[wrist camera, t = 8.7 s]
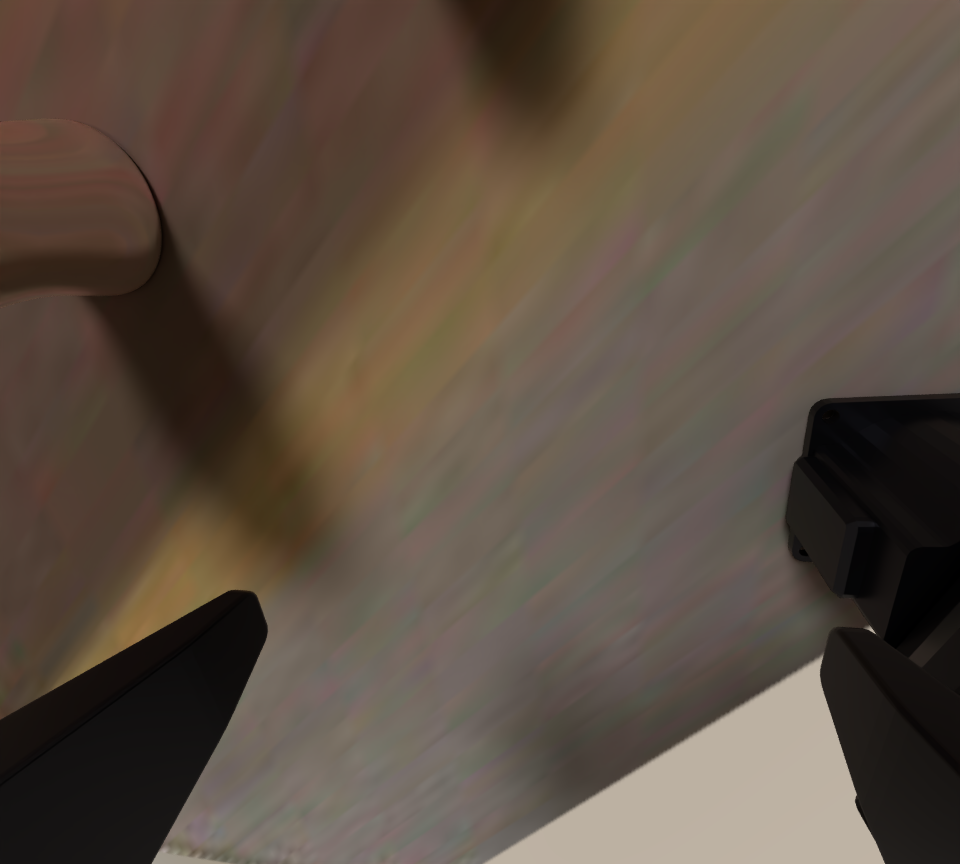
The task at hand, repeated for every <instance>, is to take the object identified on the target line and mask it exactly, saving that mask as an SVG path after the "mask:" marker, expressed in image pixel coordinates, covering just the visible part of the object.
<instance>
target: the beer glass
mask: <svg viewBox="0 0 960 864" xmlns="http://www.w3.org/2000/svg"><path fill="white" fill-rule="evenodd" d="M161 246H162V231H161V223H160V218H159V213H158V209H157V206H156V203H155V200H154V198H153V195H152V193H151V190H150V188H149V186H148V184H147V182H146V181H145V179H144V177H143V175H142V174H141V172H140V171H139V169H138V168H137V166H136V165H135V164H134V162H133V161H132V160H131V159H130V157H129V156H128V155H127V154H126V153H125V152H124V151H123V150H122V149H121V148H120V147H119V146H118V145H117V144H116V143H115V142H113V141H112V140H111V139H110V138H108V137H107V136H106V135H104V134H103V133H101V132H99V131H98V130H96V129H94V128H92V127H90V126H87V125H85V124H82V123H80V122H76V121H73V120H67V119H57V118H44V119H28V120H15V121H0V309H1V308H3V307H6V306H9V305H12V304H16V303H20V302H24V301H28V300H32V299H37V298H44V297H51V296H114V295H121V294H126V293H129V292H131V291H134V290H136V289H137V288H139V287H141V286H142V285H143V284H144V283H146V282H147V281H148V279H149V278H150V277H151V276H152V274H153V273H154V271H155V269H156V267H157V264H158V261H159V258H160V253H161Z"/></svg>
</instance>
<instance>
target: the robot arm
mask: <svg viewBox="0 0 960 864" xmlns="http://www.w3.org/2000/svg"><path fill="white" fill-rule="evenodd" d="M828 410H834V413H833V415H832V416H831V417H830V418H827V419H822V416H823V414H824V413H825V412H826V411H828ZM786 521H787V522H788V524H789V526H790V527H791V529H790V535H789V542H788V548H789V550H790V551H791V553H792V555H793V556H794V558H796V559H797V560H799V561H805V562H813V563H814V565H815V566H816V568H817V569H818V571H819V572H820V574H821V576H822V577H823V579H824V580H825V582H826V583H827V585H828V586H829V588H830V590H831V591H832V592H834V593H835V594H836V595H837V596H838V597H839V598H852V599H853V601H854V602H855V604H856V605H857V607H858V608H859V610H860V611H861V613H862V614H863V616H864V617H865V619H866V620H867V621H868V623H869V624H870V626H871V627H872V629H873V630H874V632H875V633H876V634H874V633H873V632H871V631H869V630H867V629H863V628H848V627H836V628H833V629H832V630H831V631H830V633H829V636H828V640H827V644H826V648H825V652H824V656H823V660H822V664H821V669H820V678H821V684H822V688H823V691H824V694H825V698H826V701H827V704H828V707H829V710H830V713H831V716H832V719H833V722H834V725H835V728H836V732H837V735H838V738H839V741H840V744H841V747H842V750H843V753H844V756H845V760H846V763H847V765H848V769H849V772H850V775H851V778H852V781H853V784H854V787H855V790H856V793H857V796H856V799H855V803H856V806H857V809H858V811H859V813H860V815H861V817H862V818H863V820H864V822H865V824H866V825H867V827H868V829H869V831H870V832H871V834H872V836H873V838H874V839H875V841H876V843H877V846H878V848H879V851H880V853H881V855H882V857H883V860H884V862H885V864H960V393H954V394H929V395H903V396H878V397H853V398H828V399H823V400H820V401H818V402H816V403H815V404H814V405H813V406H812V407H811V410H810V412H809V417H808V423H807V430H806V436H805V442H804V448H803V454H802V456H801V457H799V458H798V459H797V460H796V461H795V463H794V467H793V474H792V480H791V487H790V493H789V500H788V506H787V512H786ZM801 547H804V549H803V550H800V548H801ZM267 633H268V626H267V623H266V620H265V617H264V614H263V611H262V609H261V606H260V603H259V600H258V597H257V595H256V594H255V593H254V592H252V591H245V590H230V591H228V592H226V593H224V594H222V595H220V596H219V597H217V598H215V599H213V600H211V601H210V602H208V603H206V604H204V605H203V606H201V607H199V608H197V609H196V610H194V611H192V612H190V613H188V614H187V615H185V616H183V617H181V618H180V619H178V620H176V621H174V622H173V623H171V624H169V625H167V626H165V627H164V628H162V629H160V630H158V631H157V632H155V633H153V634H151V635H149V636H148V637H146V638H144V639H142V640H141V641H139V642H137V643H135V644H134V645H132V646H130V647H128V648H126V649H125V650H123V651H121V652H119V653H118V654H116V655H114V656H112V657H111V658H109V659H107V660H105V661H103V662H102V663H100V664H98V665H96V666H95V667H93V668H91V669H89V670H87V671H86V672H84V673H82V674H80V675H79V676H77V677H75V678H73V679H72V680H70V681H68V682H66V683H64V684H63V685H61V686H59V687H57V688H56V689H54V690H52V691H50V692H49V693H47V694H45V695H43V696H41V697H40V698H38V699H36V700H34V701H33V702H31V703H29V704H27V705H26V706H24V707H22V708H20V709H18V710H17V711H15V712H13V713H11V714H10V715H8V716H6V717H4V718H2V719H1V720H0V864H152V862H153V860H154V858H155V857H156V855H157V853H158V851H159V849H160V848H161V846H162V844H163V842H164V840H165V839H166V837H167V835H168V833H169V831H170V830H171V828H172V826H173V824H174V822H175V821H176V819H177V817H178V815H179V813H180V811H181V810H182V808H183V806H184V804H185V802H186V801H187V799H188V797H189V795H190V793H191V792H192V790H193V788H194V786H195V784H196V783H197V781H198V779H199V777H200V775H201V774H202V772H203V770H204V768H205V766H206V764H207V763H208V761H209V759H210V757H211V755H212V754H213V752H214V750H215V748H216V746H217V745H218V743H219V741H220V739H221V737H222V735H223V733H224V731H225V730H226V728H227V726H228V723H229V721H230V719H231V717H232V715H233V713H234V711H235V709H236V706H237V704H238V702H239V700H240V697H241V695H242V693H243V691H244V688H245V686H246V684H247V682H248V679H249V677H250V675H251V673H252V670H253V668H254V666H255V664H256V661H257V659H258V657H259V655H260V652H261V650H262V648H263V646H264V643H265V641H266V638H267Z"/></svg>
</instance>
